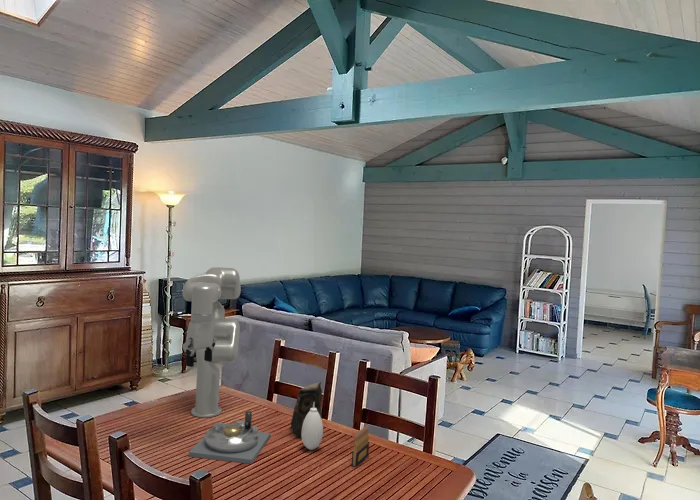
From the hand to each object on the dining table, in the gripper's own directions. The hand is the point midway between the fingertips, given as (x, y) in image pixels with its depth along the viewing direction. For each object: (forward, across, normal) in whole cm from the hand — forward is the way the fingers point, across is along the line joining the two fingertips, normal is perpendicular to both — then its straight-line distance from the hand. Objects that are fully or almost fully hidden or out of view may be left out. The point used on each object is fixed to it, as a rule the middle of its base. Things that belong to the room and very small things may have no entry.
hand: (199, 363), depth 188 cm
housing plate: (+29, -4, +14) cm, 33 cm away
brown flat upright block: (+30, -19, +60) cm, 69 cm away
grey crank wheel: (+28, -4, +14) cm, 31 cm away
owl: (+29, -30, +30) cm, 52 cm away
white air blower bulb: (+30, -18, +40) cm, 53 cm away
